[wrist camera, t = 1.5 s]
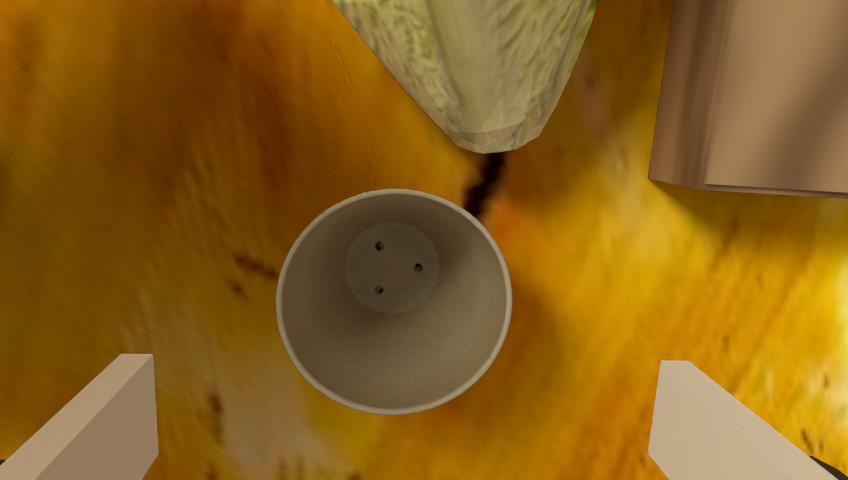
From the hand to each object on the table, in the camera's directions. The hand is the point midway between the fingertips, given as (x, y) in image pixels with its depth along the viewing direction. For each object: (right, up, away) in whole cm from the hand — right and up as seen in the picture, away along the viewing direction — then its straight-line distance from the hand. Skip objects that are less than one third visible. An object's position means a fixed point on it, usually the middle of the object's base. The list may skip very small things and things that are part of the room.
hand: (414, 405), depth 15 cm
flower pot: (-1, +3, +16) cm, 17 cm away
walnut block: (+18, +13, +16) cm, 27 cm away
